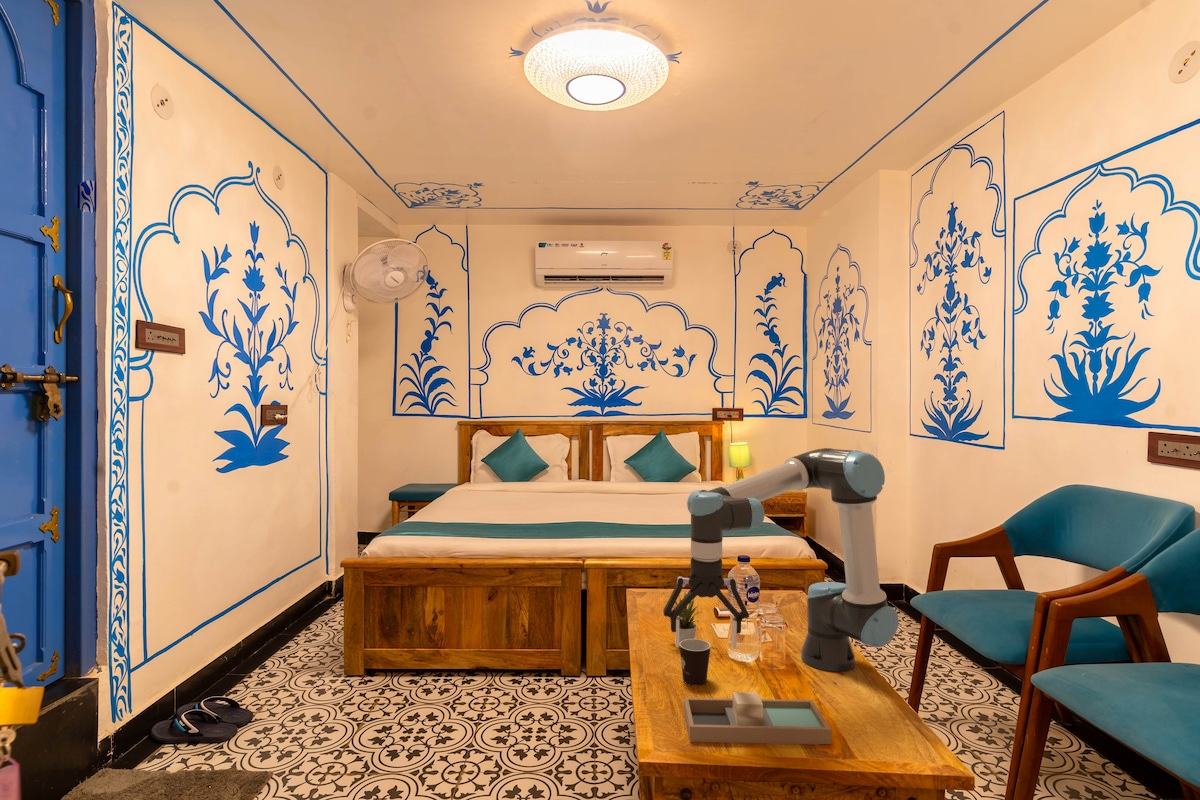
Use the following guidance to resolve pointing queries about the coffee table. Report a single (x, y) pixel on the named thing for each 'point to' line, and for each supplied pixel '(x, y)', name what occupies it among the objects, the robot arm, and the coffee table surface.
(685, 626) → the house plant
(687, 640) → the coffee mug
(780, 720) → the track
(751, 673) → the coffee table surface
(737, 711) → the ash block
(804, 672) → the coffee table surface
